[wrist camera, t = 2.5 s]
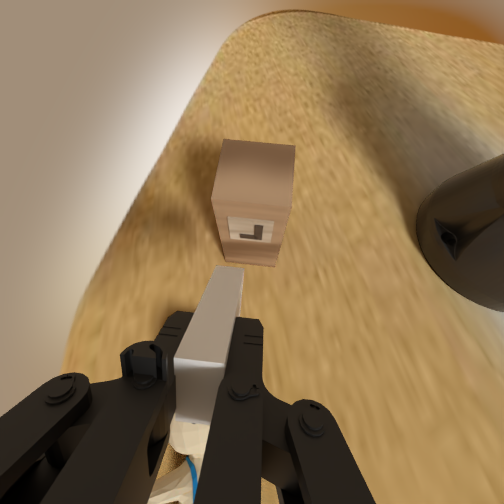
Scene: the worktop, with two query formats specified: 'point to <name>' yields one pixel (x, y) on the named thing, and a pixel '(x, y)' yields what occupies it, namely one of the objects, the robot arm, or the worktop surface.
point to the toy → (187, 475)
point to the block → (253, 199)
